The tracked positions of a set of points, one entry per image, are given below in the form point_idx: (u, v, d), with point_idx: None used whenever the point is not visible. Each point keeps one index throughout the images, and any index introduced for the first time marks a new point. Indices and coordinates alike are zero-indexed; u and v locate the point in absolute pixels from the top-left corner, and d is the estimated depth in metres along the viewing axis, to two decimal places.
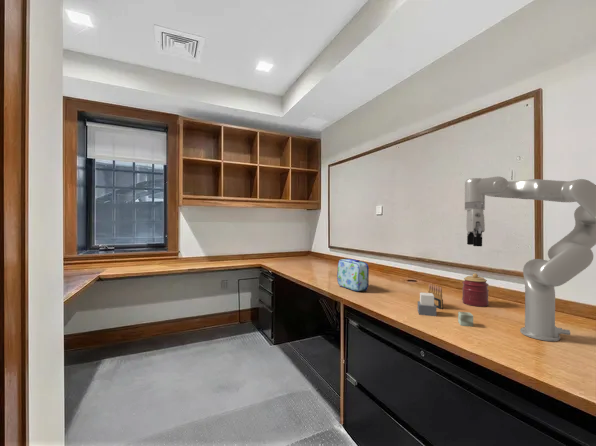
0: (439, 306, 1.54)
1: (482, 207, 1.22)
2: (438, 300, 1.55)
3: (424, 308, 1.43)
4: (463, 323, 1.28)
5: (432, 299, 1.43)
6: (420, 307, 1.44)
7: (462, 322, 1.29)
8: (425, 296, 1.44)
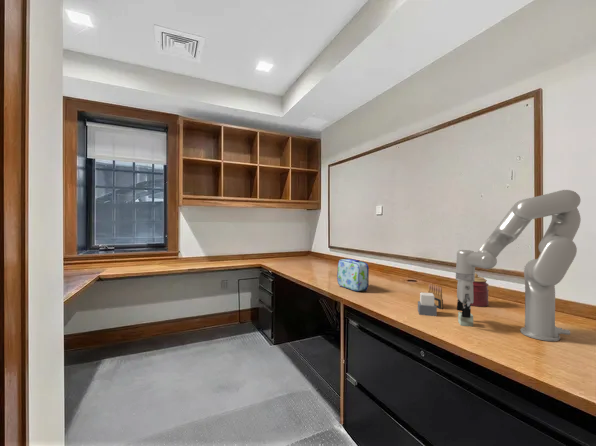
0: (439, 306, 1.54)
1: (472, 279, 1.27)
2: (438, 300, 1.55)
3: (424, 308, 1.43)
4: (463, 323, 1.28)
5: (432, 299, 1.43)
6: (420, 307, 1.44)
7: (462, 322, 1.29)
8: (425, 296, 1.44)
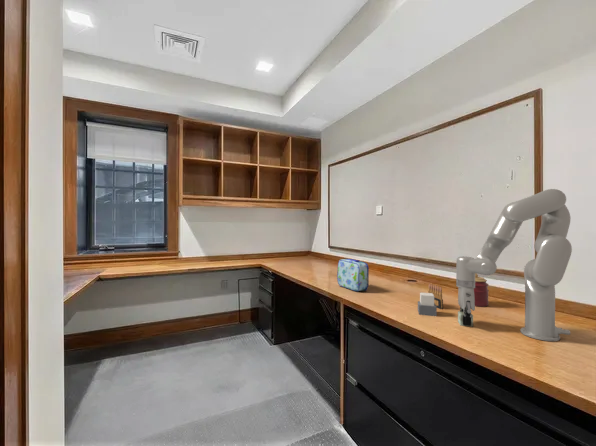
0: (439, 306, 1.54)
1: (472, 286, 1.27)
2: (438, 300, 1.55)
3: (424, 308, 1.43)
4: None
5: (432, 299, 1.43)
6: (420, 307, 1.44)
7: (462, 322, 1.29)
8: (425, 296, 1.44)
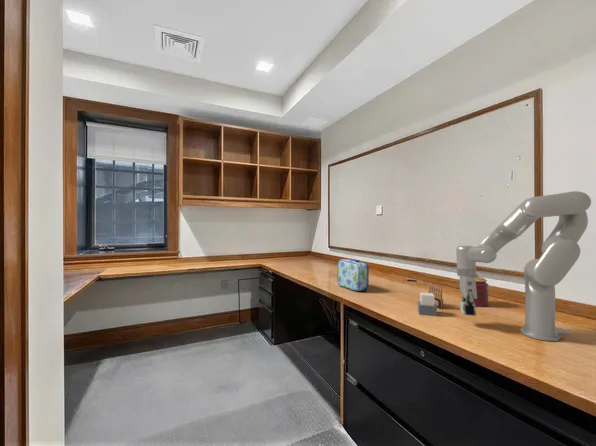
0: (439, 306, 1.54)
1: (473, 275, 1.27)
2: (438, 300, 1.55)
3: (424, 308, 1.43)
4: None
5: (432, 299, 1.43)
6: (420, 307, 1.44)
7: (465, 311, 1.28)
8: (425, 296, 1.44)
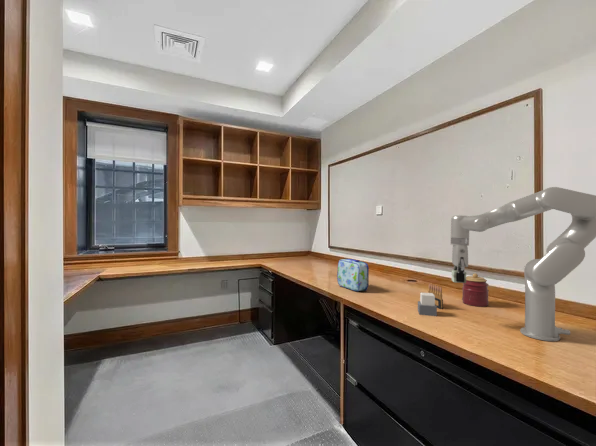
0: (439, 306, 1.54)
1: (466, 243, 1.29)
2: (438, 300, 1.55)
3: (424, 308, 1.43)
4: None
5: (433, 299, 1.43)
6: (420, 307, 1.44)
7: (455, 279, 1.31)
8: (426, 296, 1.44)
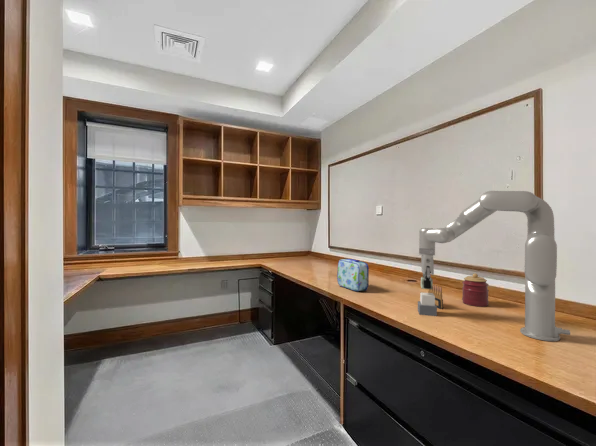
0: (439, 306, 1.54)
1: (432, 253, 1.43)
2: (438, 300, 1.55)
3: (424, 308, 1.43)
4: None
5: (433, 299, 1.43)
6: (420, 307, 1.44)
7: (423, 285, 1.45)
8: (426, 296, 1.44)
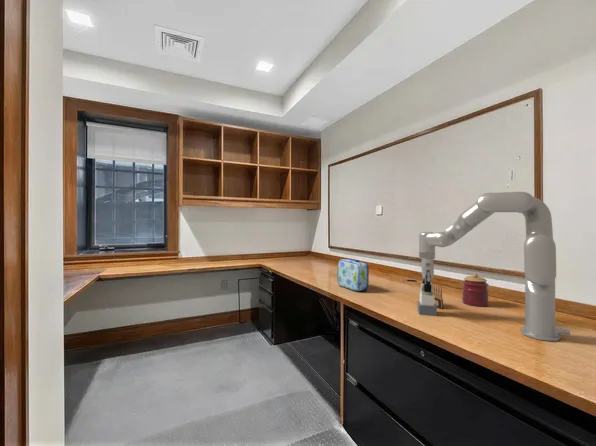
0: (439, 306, 1.54)
1: (432, 257, 1.43)
2: (438, 300, 1.55)
3: (424, 308, 1.43)
4: (424, 292, 1.44)
5: (432, 299, 1.43)
6: (420, 307, 1.44)
7: (423, 292, 1.45)
8: (425, 296, 1.44)
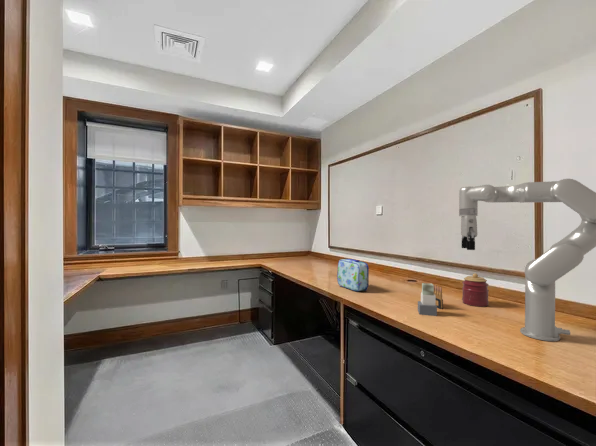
0: (439, 306, 1.54)
1: (475, 213, 1.31)
2: (438, 300, 1.55)
3: (425, 308, 1.43)
4: (425, 292, 1.45)
5: (433, 299, 1.44)
6: (421, 307, 1.44)
7: (424, 291, 1.45)
8: (426, 296, 1.44)
